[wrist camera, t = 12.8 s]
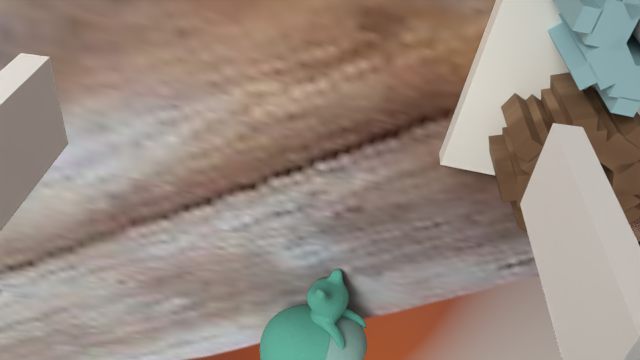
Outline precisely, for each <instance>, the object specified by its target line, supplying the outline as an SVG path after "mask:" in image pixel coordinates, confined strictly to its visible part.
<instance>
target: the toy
mask: <svg viewBox="0 0 640 360" xmlns="http://www.w3.org/2000/svg"><path fill="white" fill-rule="evenodd" d="M348 301H349V293H348V291H347V288H346V287H345V285H344V283H343V276H342V272H341V270H339V269H335V270H334V271H333V272H332V273H331V275H330V276H329V277H328V278H325V279H319V280H317V281H316V282H315V283H314V284H313V286H312V287H311V288H310V289H309V291H308V293H307V302H308V305H299V306H294V307H290V308H288V309H285V310H283V311H281V312H280V313H278V314H277V315H275V316H274V317H273V318H272V319H271V320H270V321H269V323H268V324H267V326H266V327H265V329H264V332H263V334H262V338H261V343H260V358H261V360H363V359H364V356H365V354H366V348H367V341H366V336H365V333H364V330H363V328H362V327H364V328H366V323H365V321H364V320H363V319H362V318H361V317H360V316H359V315H358V314H356V313H354V312H353V311H351V310H349V309H347V305H348Z"/></svg>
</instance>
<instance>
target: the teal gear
mask: <svg viewBox="0 0 640 360" xmlns="http://www.w3.org/2000/svg"><path fill="white" fill-rule="evenodd" d="M553 1H554V3H555V4H556V6H557V7H558V9H559V11H560V12H561V14H559V16H560V18H561V20H562V23H560V24H558V25H556V26H554V27H552V28H551V29H549V30H548V33H549V35H550V37H551V39H552V41H553V43H554V45H555V47H556V49H557V50H558V52H559V54H560V56H561V58H562V59H563V61H564V63H565V65H566V67H567V68H568V70H569V72H570V74H571V76H572V77H573V79H574V81H575V83H576V85H577V86H578V88H579V90H582V89H584V88H586V87H588V86H591V85H593V84H594V86H595V87H596V89H597V91H598V92H599V94H600V96H601V97H602V99H603V101H604V102H605V104H606V106H607V107H608V109H609V111H610V112H611V113H615V114H620V115H625V116H630V117H634V115H635V114H636V112H637V110H638V109H639V107H640V43H639V41H638V40H637V39H636V38H635V37H634V35H633V34H632V32H633V30H634V28H635V26H636V24H637V22H638V20H639V19H640V0H553Z"/></svg>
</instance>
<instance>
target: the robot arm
mask: <svg viewBox="0 0 640 360" xmlns="http://www.w3.org/2000/svg"><path fill="white" fill-rule="evenodd" d="M67 145H68V140H67V135H66V131H65V126H64V121H63V117H62V112H61V107H60V103H59V98H58V93H57V89H56V84H55V79H54V75H53V70H52V65H51V61H50V57H46V56H38V55H30V54H23V53H21V54H19V55H18V56H17V57H16V58H15V59H14V60H13V61H12V62H10V63H9V64H8V65H7V66H6V67H5V68H4V69H2V70H1V71H0V231H1V230H2V229H3V227H4V226H5V225H6V224H7V222H8V221H9V220H10V218H11V217H12V216H13V215H14V213H15V212H16V211H17V209H18V208H19V207H20V205H21V204H22V203H23V202H24V200H25V199H26V198H27V196H28V195H29V194H30V193H31V191H32V190H33V189H34V187H35V186H36V185H37V183H38V182H39V181H40V180H41V178H42V177H43V176H44V174H45V173H46V172H47V171H48V169H49V168H50V167H51V165H52V164H53V163H54V161H55V160H56V159H57V158H58V156H59V155H60V154H61V152H62V151H63V150H64V149H65V147H66V146H67ZM520 206H521V210H522V213H523V217H524V221H525V225H526V228H527V232H528V236H529V239H530V243H531V247H532V251H533V254H534V258H535V262H536V265H537V269H538V273H539V277H540V280H541V284H542V288H543V291H544V295H545V299H546V303H547V306H548V310H549V314H550V317H551V321H552V325H553V329H554V332H555V336H556V340H557V343H558V347H559V351H560V355H561V358H562V360H640V242H639V241H637V239H636V237H635V235H634V233H633V231H632V229H631V227H630V225H629V223H628V221H627V219H626V216H625V214H624V212H623V210H622V208H621V206H620V204H619V202H618V200H617V198H616V195H615V193H614V191H613V189H612V187H611V185H610V183H609V181H608V179H607V177H606V175H605V172H604V170H603V168H602V166H601V164H600V162H599V160H598V158H597V156H596V154H595V151H594V149H593V147H592V145H591V143H590V141H589V139H588V137H587V135H586V133H585V131H584V128H583V127H579V126H571V125H563V124H556V123H553V124H552V127H551V129H550V132H549V134H548V137H547V139H546V142H545V144H544V146H543V149H542V151H541V154H540V156H539V159H538V161H537V164H536V166H535V169H534V171H533V173H532V176H531V178H530V181H529V183H528V186H527V188H526V191H525V193H524V196H523V198H522V200H521V203H520Z"/></svg>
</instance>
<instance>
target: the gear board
mask: <svg viewBox="0 0 640 360" xmlns="http://www.w3.org/2000/svg"><path fill="white" fill-rule="evenodd" d="M559 14H561V12H560V11H559V9H558V7H557V6H556V4H555V3H554V1H553V0H496V2H495V4H494V7H493V10H492V12H491V15H490V18H489V20H488V23H487V26H486V29H485V31H484V34H483V37H482V39H481V42H480V45H479V47H478V50H477V53H476V56H475V58H474V61H473V64H472V66H471V69H470V72H469V74H468V77H467V80H466V83H465V85H464V88H463V91H462V93H461V96H460V99H459V101H458V104H457V107H456V110H455V112H454V115H453V118H452V120H451V123H450V126H449V128H448V131H447V134H446V136H445V139H444V142H443V145H442V147H441V150H440V153H439V157H440V164H441V165H445V166H450V167H455V168H460V169H465V170H470V171H475V172H480V173H485V174H490V175H495V172H494V168H493V164H492V160H491V156H490V152H489V137H488V136H494V135H502V127H507V125H506V122H505V119H504V115H503V112H502V109H501V106H502V105H503V104H504V103H505V102H506V101H507V100H508V99H509V98H510V97H511V96H512V95H513V94H514V93H516V94H517V95H519V96H520V97H522V98H523V99H525V100H526V99H527V98H528V97H529V96H530V95H531V94H533V95H534V96H536V97H537V98H539V99H540V100H541V89H548V88H550V75H555V74H562V73H569V70H568V68H567V67H566V65H565V63H564V61H563V59H562V58H561V56H560V54H559V52H558V50H557V49H556V47H555V45H554V43H553V41H552V39H551V37H550V35H549V33H548V30H549V29H551V28H552V27H554V26H556V25H558V24H560V23H562V20H561V18H560V16H559ZM632 34H633V35H634V37H635V38H636V39H637V40H638V41H639V43H640V19H639V20H638V22H637V24H636V26H635V28H634V30H633V32H632ZM588 87H589V86H588ZM588 87H586V88H584V90H586V89H587V88H588ZM591 87H593V88H594V89H596V87H595V86H594V84H593V85H591ZM596 90H597V89H596ZM637 112H638V114H639V115H640V107H639V109H638V110H637Z"/></svg>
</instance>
